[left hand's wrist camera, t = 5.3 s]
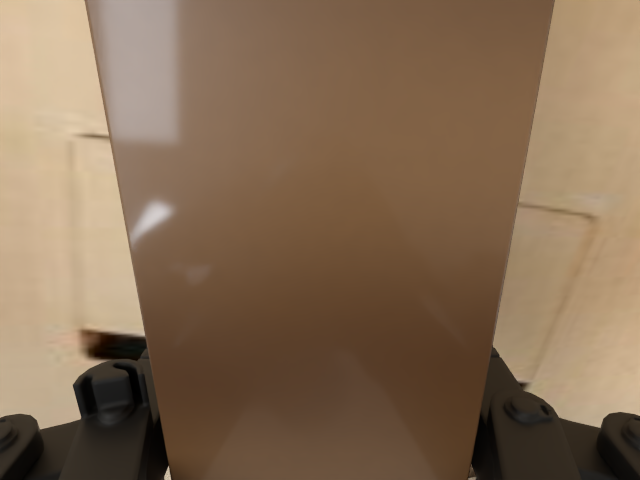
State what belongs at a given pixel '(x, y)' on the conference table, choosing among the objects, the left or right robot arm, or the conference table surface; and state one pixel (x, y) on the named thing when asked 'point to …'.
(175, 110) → the bar
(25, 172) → the conference table surface
